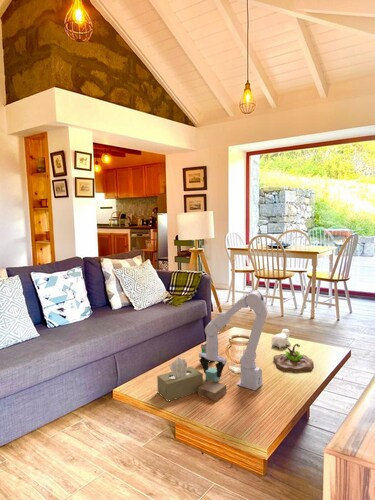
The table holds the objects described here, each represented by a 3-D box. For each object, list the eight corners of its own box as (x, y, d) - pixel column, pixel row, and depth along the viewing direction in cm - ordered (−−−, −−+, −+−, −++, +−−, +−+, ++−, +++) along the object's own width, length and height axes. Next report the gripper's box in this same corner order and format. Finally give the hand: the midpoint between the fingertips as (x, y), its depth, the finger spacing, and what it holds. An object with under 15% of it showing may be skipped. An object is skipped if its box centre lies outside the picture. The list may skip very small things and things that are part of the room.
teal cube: (220, 379, 173) (219, 369, 173) (214, 383, 169) (214, 373, 169) (211, 377, 176) (211, 367, 176) (205, 380, 172) (205, 370, 172)
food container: (210, 365, 190) (210, 346, 189) (201, 362, 194) (200, 344, 193) (222, 357, 200) (222, 340, 199) (213, 355, 204) (213, 338, 203)
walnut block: (226, 393, 160) (226, 385, 160) (215, 402, 153) (215, 393, 153) (209, 388, 166) (209, 379, 165) (198, 396, 159) (197, 387, 158)
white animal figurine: (284, 354, 211) (295, 338, 220) (281, 342, 208) (292, 327, 217) (271, 350, 217) (282, 335, 226) (268, 339, 214) (280, 324, 223)
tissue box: (192, 382, 171) (191, 350, 170) (203, 390, 163) (203, 356, 162) (157, 393, 162) (155, 359, 160) (167, 402, 153) (166, 366, 152)
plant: (318, 373, 179) (319, 351, 178) (279, 373, 180) (279, 351, 178) (307, 357, 199) (307, 337, 198) (271, 357, 199) (271, 337, 198)
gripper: (229, 348, 170) (229, 375, 171) (204, 341, 179) (205, 368, 180) (221, 352, 164) (221, 381, 166) (196, 346, 173) (196, 373, 175)
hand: (212, 374), depth 173 cm, fingers open, 7 cm apart
